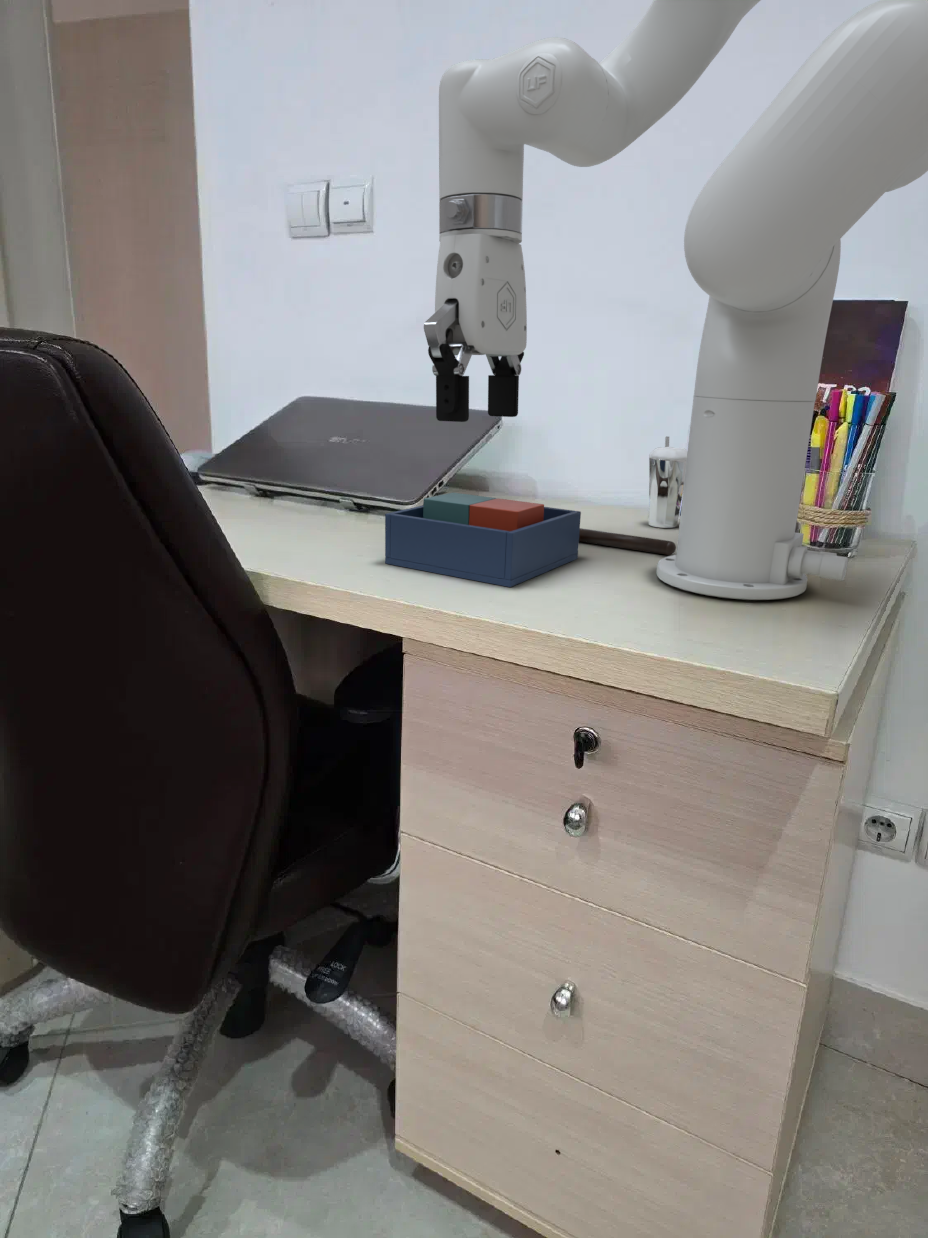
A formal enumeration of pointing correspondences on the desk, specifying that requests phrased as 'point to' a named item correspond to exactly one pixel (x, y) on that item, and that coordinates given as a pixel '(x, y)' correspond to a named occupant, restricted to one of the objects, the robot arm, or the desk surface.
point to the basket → (482, 546)
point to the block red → (505, 514)
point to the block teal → (451, 507)
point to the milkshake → (666, 484)
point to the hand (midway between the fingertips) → (478, 418)
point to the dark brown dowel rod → (627, 541)
